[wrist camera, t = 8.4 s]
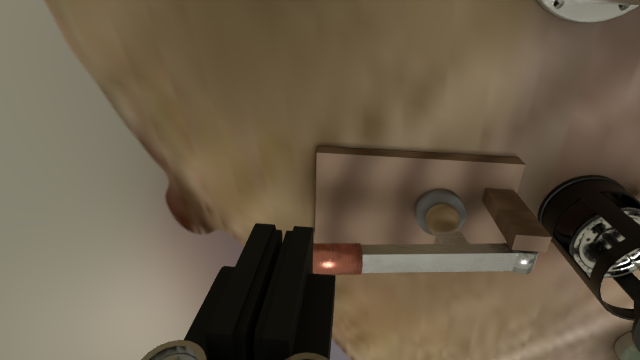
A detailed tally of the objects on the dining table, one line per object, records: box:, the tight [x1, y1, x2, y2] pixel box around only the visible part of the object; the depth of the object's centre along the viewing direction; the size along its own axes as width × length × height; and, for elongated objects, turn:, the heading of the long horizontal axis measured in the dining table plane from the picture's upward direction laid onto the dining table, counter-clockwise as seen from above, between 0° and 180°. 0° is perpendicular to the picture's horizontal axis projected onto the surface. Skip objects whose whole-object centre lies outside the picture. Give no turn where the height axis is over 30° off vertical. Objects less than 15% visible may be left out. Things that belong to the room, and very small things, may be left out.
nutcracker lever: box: [313, 232, 538, 275], centre depth 35 cm, size 22×3×4 cm, turn 89°
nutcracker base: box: [315, 146, 552, 252], centre depth 39 cm, size 22×12×11 cm, turn 89°
